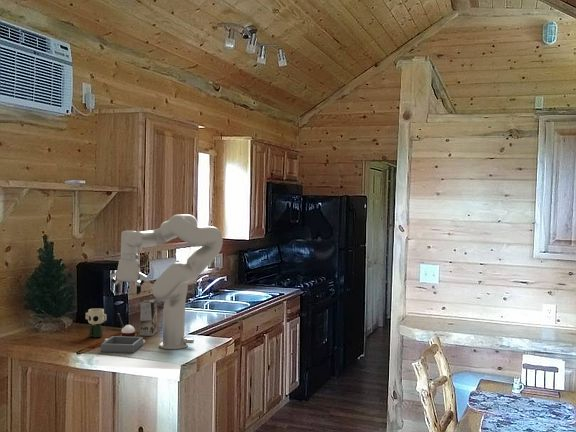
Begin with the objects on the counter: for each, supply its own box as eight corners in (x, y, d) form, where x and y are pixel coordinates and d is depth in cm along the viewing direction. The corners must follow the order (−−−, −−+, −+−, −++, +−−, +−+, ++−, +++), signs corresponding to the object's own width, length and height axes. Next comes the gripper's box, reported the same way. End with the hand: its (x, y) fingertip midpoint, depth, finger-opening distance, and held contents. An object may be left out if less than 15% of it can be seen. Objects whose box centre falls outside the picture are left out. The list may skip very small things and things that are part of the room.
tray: (143, 344, 278) (143, 337, 278) (133, 353, 263) (133, 345, 263) (112, 343, 278) (112, 336, 278) (100, 352, 263) (101, 343, 263)
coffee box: (152, 336, 295) (153, 302, 295) (139, 335, 295) (140, 302, 295) (157, 331, 304) (157, 299, 304) (144, 331, 305) (144, 299, 304)
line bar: (144, 343, 281) (145, 340, 281) (143, 344, 279) (143, 341, 279) (106, 341, 282) (106, 338, 282) (104, 342, 280) (104, 339, 280)
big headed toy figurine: (81, 337, 288) (81, 310, 288) (89, 334, 295) (89, 307, 295) (102, 339, 286) (102, 311, 285) (109, 336, 293) (110, 309, 292)
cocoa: (139, 339, 289) (141, 314, 289) (131, 342, 283) (133, 316, 283) (122, 336, 292) (124, 311, 292) (114, 339, 286) (116, 313, 286)
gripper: (149, 257, 290) (148, 293, 290) (113, 255, 291) (112, 291, 291) (145, 258, 282) (144, 295, 283) (108, 257, 283) (107, 294, 284)
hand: (128, 293), depth 287 cm, fingers open, 9 cm apart
